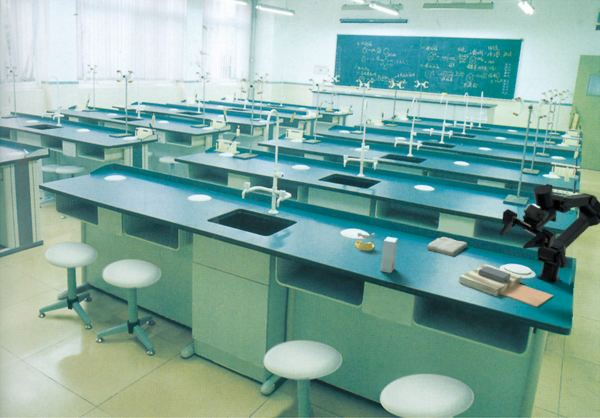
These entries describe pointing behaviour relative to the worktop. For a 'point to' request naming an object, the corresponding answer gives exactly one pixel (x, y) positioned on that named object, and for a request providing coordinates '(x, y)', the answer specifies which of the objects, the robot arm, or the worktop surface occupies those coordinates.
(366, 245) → the dental model
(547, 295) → the mat
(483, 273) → the grey rectangular block
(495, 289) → the cream wavy flat block
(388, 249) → the skincare box
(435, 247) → the washcloth
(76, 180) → the worktop surface
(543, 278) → the robot arm
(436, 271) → the worktop surface
